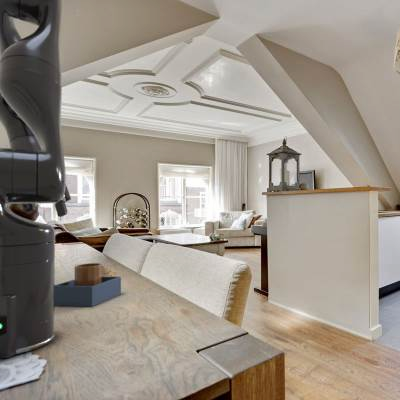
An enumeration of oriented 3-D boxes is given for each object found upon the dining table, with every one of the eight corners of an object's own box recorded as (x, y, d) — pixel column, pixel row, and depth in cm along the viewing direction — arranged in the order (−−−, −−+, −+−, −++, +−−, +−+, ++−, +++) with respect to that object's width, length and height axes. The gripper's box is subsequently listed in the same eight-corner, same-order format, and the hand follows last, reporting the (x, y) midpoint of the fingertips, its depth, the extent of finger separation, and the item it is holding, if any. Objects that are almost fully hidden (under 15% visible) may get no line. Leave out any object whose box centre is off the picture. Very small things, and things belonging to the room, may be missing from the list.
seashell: (123, 269, 104) (108, 264, 97) (119, 286, 102) (103, 282, 94) (100, 269, 105) (83, 263, 97) (95, 286, 102) (77, 282, 95)
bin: (92, 306, 73) (92, 286, 73) (51, 305, 74) (52, 285, 74) (120, 294, 83) (121, 276, 83) (85, 293, 84) (85, 276, 84)
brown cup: (90, 300, 75) (90, 267, 76) (68, 300, 76) (68, 267, 76) (106, 294, 81) (106, 263, 81) (86, 293, 82) (86, 262, 82)
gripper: (15, 143, 74) (32, 204, 71) (67, 159, 88) (83, 210, 85) (-11, 156, 75) (5, 218, 72) (45, 170, 89) (60, 222, 86)
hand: (47, 213), depth 78 cm, fingers open, 8 cm apart
